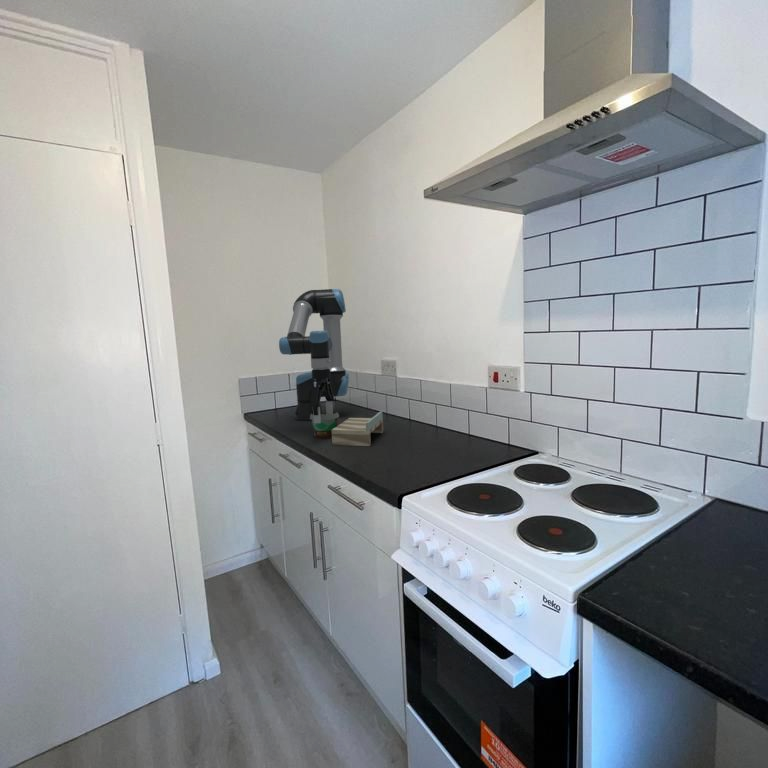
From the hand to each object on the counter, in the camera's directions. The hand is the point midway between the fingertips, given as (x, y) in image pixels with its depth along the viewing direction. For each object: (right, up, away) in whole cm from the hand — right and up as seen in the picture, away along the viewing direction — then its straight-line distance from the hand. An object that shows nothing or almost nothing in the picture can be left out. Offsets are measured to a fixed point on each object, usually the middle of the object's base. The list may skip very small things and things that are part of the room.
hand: (323, 419), depth 174 cm
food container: (0, -8, +1) cm, 8 cm away
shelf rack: (+15, -7, -2) cm, 17 cm away
